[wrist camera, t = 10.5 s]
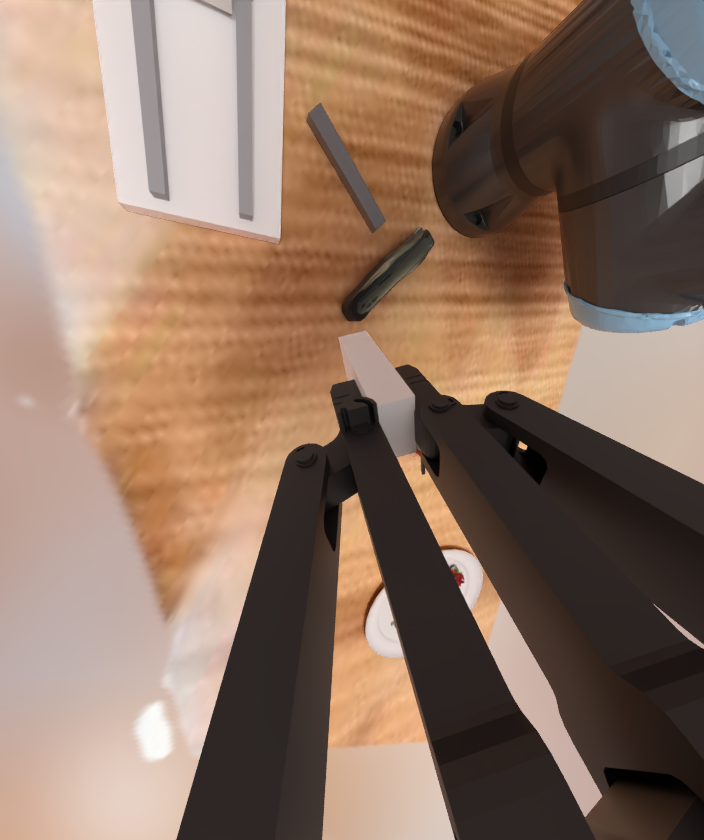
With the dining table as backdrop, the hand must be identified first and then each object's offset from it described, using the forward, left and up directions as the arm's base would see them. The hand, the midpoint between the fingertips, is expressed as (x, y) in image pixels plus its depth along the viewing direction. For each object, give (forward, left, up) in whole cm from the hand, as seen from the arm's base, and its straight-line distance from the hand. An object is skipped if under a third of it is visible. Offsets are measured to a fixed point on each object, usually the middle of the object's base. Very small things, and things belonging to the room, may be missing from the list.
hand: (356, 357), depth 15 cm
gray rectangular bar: (-15, -12, -22) cm, 29 cm away
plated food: (+5, +62, -22) cm, 66 cm away
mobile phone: (-14, -2, -22) cm, 27 cm away
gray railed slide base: (-5, -24, -22) cm, 33 cm away
